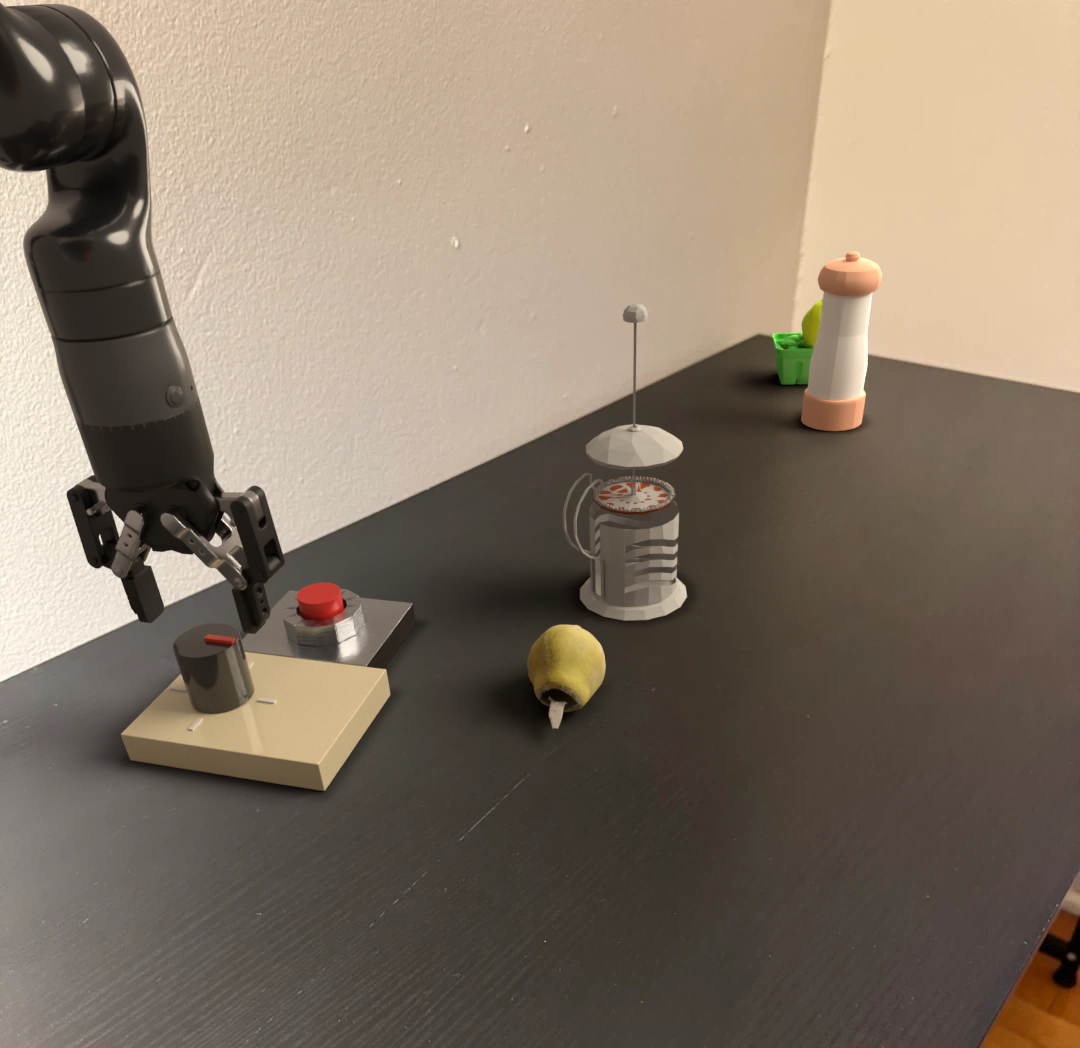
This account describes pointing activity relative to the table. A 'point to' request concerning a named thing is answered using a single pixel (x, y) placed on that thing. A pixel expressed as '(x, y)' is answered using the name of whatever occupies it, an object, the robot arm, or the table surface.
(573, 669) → the fruit
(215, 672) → the knob
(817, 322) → the fruit basket
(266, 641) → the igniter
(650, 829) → the table surface
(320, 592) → the button
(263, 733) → the panel
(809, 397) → the salt shaker
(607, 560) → the french press
